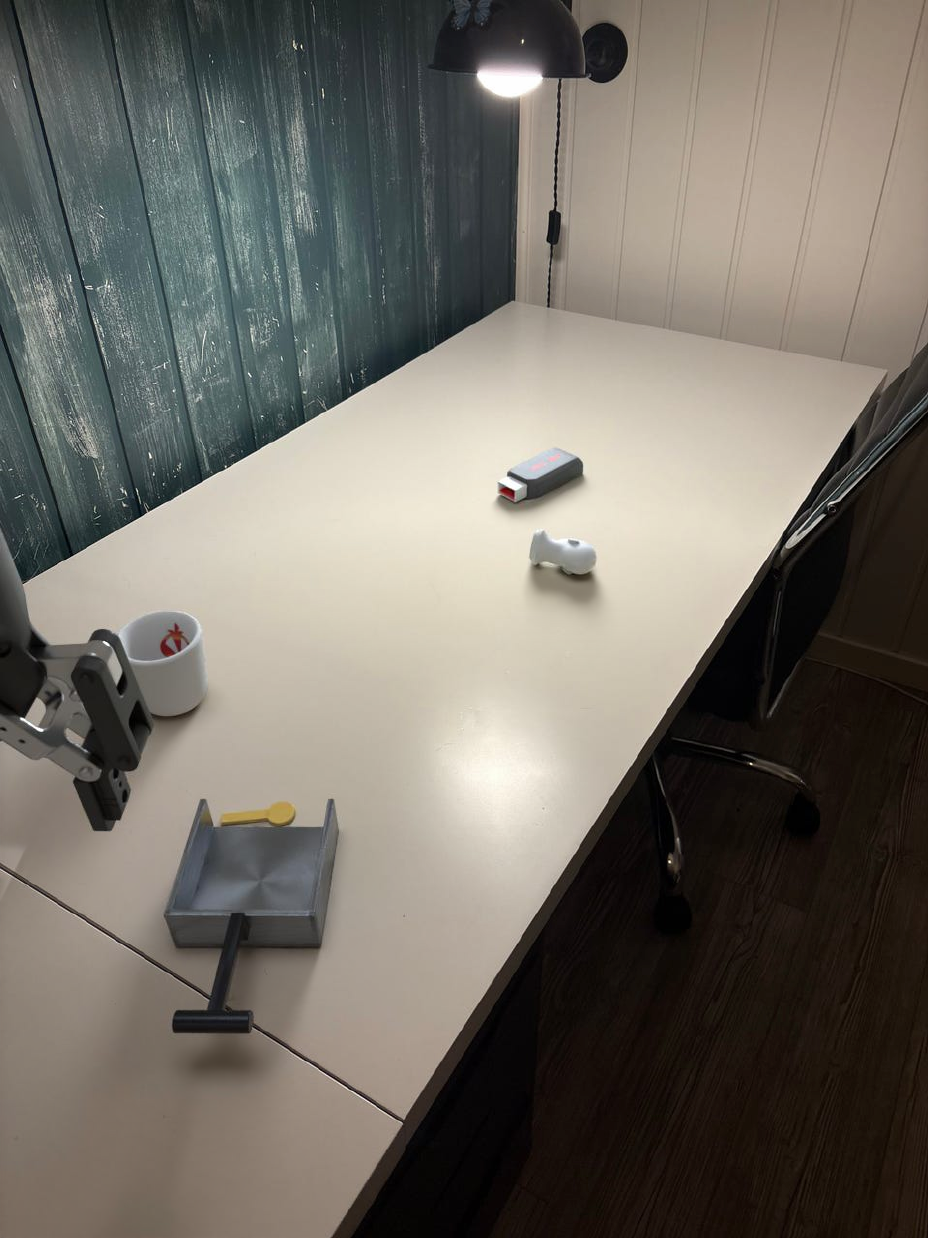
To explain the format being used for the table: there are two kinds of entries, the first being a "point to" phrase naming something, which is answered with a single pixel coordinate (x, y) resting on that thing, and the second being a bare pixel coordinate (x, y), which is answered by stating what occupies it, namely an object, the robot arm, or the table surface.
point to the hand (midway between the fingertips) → (20, 816)
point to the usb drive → (540, 475)
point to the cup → (167, 660)
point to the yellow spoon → (262, 815)
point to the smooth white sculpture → (563, 553)
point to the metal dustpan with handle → (248, 900)
